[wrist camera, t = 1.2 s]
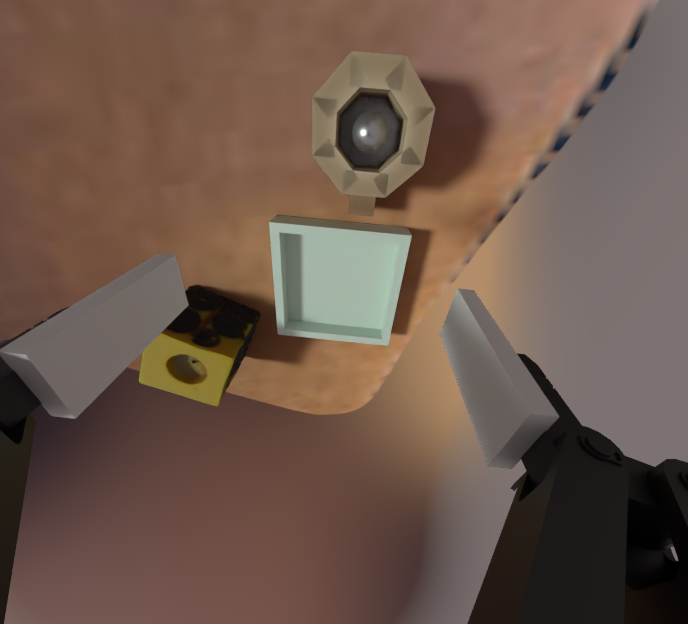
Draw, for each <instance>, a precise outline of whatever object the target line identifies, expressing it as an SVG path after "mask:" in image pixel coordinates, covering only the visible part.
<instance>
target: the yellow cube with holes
mask: <svg viewBox="0 0 688 624" xmlns="http://www.w3.org/2000/svg"><path fill="white" fill-rule="evenodd" d="M185 293H186V297H187V301H188V304H189V305H188V306H187V307H186V308H185V309H184V310H183V311H182V312H181V313H180V314H179V315H178V316H177V317H176V318H175V319H174V320H173V321H172V322H171V323H170V324H169V325H168V326H167V327H166V328H165V329H164V330H163V331H162V332H161V333H160V334H159V335H158V336H157V337H156V338H155V339H154V340H153V341H152V342H151V343H150V344H149V345H148V346H147V347H146V348H145V349H144V350H143V352H142V364H141V369H140V376H139V382H140V383H142V384H145V385H148V386H152V387H155V388H158V389H162V390H165V391H168V392H172V393H175V394H179V395H182V396H185V397H188V398H191V399H194V400H197V401H200V402H203V403H207V404H210V405H214V406H218V405H219V404H220V401H221V399H222V397H223V395H224V394H225V392H226V389H227V388H228V386H229V384H230V383H231V381H232V379H233V377H234V376H235V374H236V372H237V370H238V368H239V367H240V365H241V361H242V360H243V359H244V357H245V355H246V352H247V349H248V345H249V343H250V342H251V339H252V335H253V333H254V331H255V328H256V323H257V321H258V319H259V317H260V313H259V312H257V311H255V310H253V309H250V308H248V307H246V306H244V305H240V304H238V303H236V302H234V301H230V300H228V299H227V298H223V297H221V296H218V295H216V294H213V293H210V292H208V291H206V290H204V289H200V288H199V287H197V286H189V287H188V289H187V290H186V291H185Z"/></svg>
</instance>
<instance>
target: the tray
mask: <svg viewBox="0 0 688 624" xmlns="http://www.w3.org/2000/svg"><path fill="white" fill-rule="evenodd" d="M269 225H270V238H271V252H272V265H273V279H274V292H275V305H276V319H277V332H278V335H288V336H298V337H307V338H317V339H327V340H337V341H347V342H357V343H367V344H377V345H387V346H388V343H389V339H390V334H391V330H392V325H393V320H394V316H395V311H396V306H397V302H398V297H399V293H400V288H401V283H402V279H403V274H404V269H405V265H406V260H407V255H408V251H409V246H410V242H411V237H412V235H411V233H410V231H409V229H408V228H407V227H397V226H386V225H376V224H365V223H355V222H344V221H334V220H323V219H312V218H302V217H291V216H281V215H277V216H276V217H274V218H273V219H272V220H271V221H270V222H269Z"/></svg>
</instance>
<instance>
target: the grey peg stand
mask: <svg viewBox="0 0 688 624" xmlns="http://www.w3.org/2000/svg"><path fill="white" fill-rule="evenodd" d="M399 128H400V120H399V119H398V117H397V115H396V114H395V112H394V110H393V109H392V107H391V106H390V104H389V102H388V101H387V99H386V98H377V97H365V96H360V97H359V99H358V100H357V101H356V102H355V103H354V104H353V105H352V106H351V107H350V108H349V109H348V110H347V111H346V112H345V114H344V115H343V116H342V121H341V138H340V146H341V147H342V148H343V150H344V151H345V152H346V154H347V155H348V156H349V158H350V159H351V161H352V162H353V163H354V165H359V166H370V167H378V166H379V165H380V164H381V163H382V162H383V161H385V160H386V159H387V158H388V157H389V156H390V155H391V154H392V153H393V152H395V151H396V147H397V141H398V134H399Z"/></svg>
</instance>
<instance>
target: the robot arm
mask: <svg viewBox="0 0 688 624" xmlns="http://www.w3.org/2000/svg"><path fill="white" fill-rule="evenodd" d="M188 305H189V304H188V301H187V297H186V293H185V290H184V286H183V282H182V279H181V275H180V271H179V268H178V264H177V260H176V257H175V255H170V254H161V253H158V254H156V255H155V256H153V257H151V258H150V259H148V260H146V261H145V262H143V263H141V264H140V265H138V266H137V267H135V268H133V269H132V270H130V271H128V272H127V273H125V274H123V275H122V276H120V277H118V278H117V279H115V280H113V281H112V282H110V283H108V284H107V285H105V286H103V287H102V288H100V289H98V290H97V291H95V292H94V293H92V294H90V295H89V296H87V297H85V298H84V299H82V300H80V301H79V302H77V303H75V304H74V305H72V306H70V307H67V308H65V309H62V310H60V311H58V312H56V313H55V314H53V315H51V316H50V317H48V318H46V320H45V321H41V322H40V323H38V324H36V325H35V326H33V328H32V329H31V328H30V329H28V330H26V331H25V332H23V333H21V334H20V335H18V336H16V337H15V338H13V339H11V340H9V341H8V342H7V343H4V344H3V345H1V346H0V624H4V619H5V613H6V606H7V600H8V594H9V588H10V581H11V575H12V568H13V563H14V556H15V550H16V544H17V538H18V531H19V525H20V519H21V513H22V506H23V500H24V494H25V488H26V481H27V475H28V469H29V462H30V456H31V450H32V444H33V437H34V431H35V424H36V418H35V415H34V414H33V413H32V411H33V410H34V409H35V408H37V407H38V406H39V405H40V404H42V406H43V407H44V408H45V409H46V410H47V411H48V413H49V414H51V416H57V417H66V418H74V419H75V418H77V416H78V415H80V414H81V412H82V411H84V410H85V409H86V408H87V406H88V405H90V404H91V403H92V402H93V401H94V400H95V399H96V398H97V397H98V396H99V395H100V394H101V393H102V391H103V390H104V389H105V388H106V387H107V386H108V385H109V384H110V383H111V382H112V381H113V380H114V379H115V378H116V377H117V376H118V375H119V374H120V373H121V372H122V371H123V370H124V369H125V368H126V367H127V366H128V365H129V364H130V363H131V362H132V361H133V360H134V359H135V358H136V357H137V356H138V355H139V354H140V353H141V352H142V351H143V350H144V349H145V348H146V347H147V346H148V345H149V344H150V343H151V342H152V341H153V340H154V339H155V338H156V337H157V336H158V335H159V334H160V333H161V332H162V331H163V330H164V329H165V328H166V327H167V326H168V325H169V324H170V323H171V322H172V321H173V320H174V319H175V318H176V317H177V316H178V315H179V314H180V313H181V312H182V311H183V310H184V309H185V308H186V307H187V306H188ZM440 336H441V339H442V342H443V345H444V347H445V350H446V353H447V355H448V358H449V361H450V364H451V367H452V369H453V372H454V375H455V377H456V380H457V383H458V386H459V388H460V391H461V394H462V397H463V399H464V402H465V405H466V408H467V410H468V413H469V415H470V418H471V421H472V424H473V427H474V429H475V432H476V435H477V437H478V440H479V443H480V446H481V449H482V451H483V454H484V457H485V459H486V462H487V465H488V466H491V467H499V468H508V469H512V468H513V467H514V466H515V465H516V464H517V463H518V462H519V461H520V459H521V460H522V462H523V464H524V466H525V468H526V470H527V471H526V472H525V473H524V474H523V476H521V477H520V479H518V480H517V481H516V482H515V483H514V485H513V486H512V487H511V489H513V490H514V491H515V490H516V488H517V491H516V494H515V497H514V499H513V502H512V505H511V507H510V510H509V513H508V516H507V518H506V521H505V524H504V527H503V529H502V532H501V535H500V537H499V540H498V543H497V545H496V548H495V551H494V553H493V556H492V559H491V562H490V564H489V567H488V570H487V572H486V575H485V578H484V580H483V583H482V586H481V589H480V592H479V594H478V597H477V599H476V602H475V605H474V608H473V610H472V613H471V616H470V619H469V621H468V624H688V463H687V462H683V461H680V460H676V459H666V460H665V461H663V462H662V463H660V464H659V465H657V466H656V467H653V466H651V465H648V464H645V463H643V462H640V461H637V460H635V459H632V458H629V457H626V456H624V455H623V453H622V452H621V450H620V449H619V448H618V447H617V446H616V445H615V444H614V443H613V442H612V441H611V440H610V439H608V438H607V437H605V436H604V435H602V434H601V433H599V432H597V431H595V430H593V429H590V428H588V427H585V426H582V425H581V424H580V422H579V421H578V420H577V418H576V417H575V416H574V414H573V413H572V411H571V410H570V409H569V407H568V406H567V405H566V404H565V402H564V400H563V399H562V398H561V396H560V395H559V394H558V392H557V391H556V390H555V389H553V385H552V384H551V383H550V381H549V380H548V379H546V376H545V375H544V373H543V372H542V370H541V369H540V368H539V366H538V365H537V364H536V363H535V362H533V361H532V360H531V359H530V358H528V357H527V356H526V355H525V354H517V353H516V352H515V350H514V349H513V347H512V346H511V344H510V343H509V341H508V340H507V338H506V337H505V336H504V334H503V333H502V331H501V330H500V328H499V327H498V325H497V324H496V322H495V321H494V319H493V318H492V316H491V315H490V313H489V312H488V310H487V309H486V308H485V306H484V305H483V303H482V301H481V300H480V299H479V297H478V296H477V294H476V293H475V291H474V290H466V289H457V291H456V294H455V297H454V299H453V302H452V305H451V307H450V309H449V312H448V315H447V317H446V320H445V322H444V325H443V327H442V330H441V333H440ZM673 546H674V548H675V551H676V553H677V557H678V561H676V560H675V558H674V556H673V554H672V551H671V548H670V547H673Z"/></svg>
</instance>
